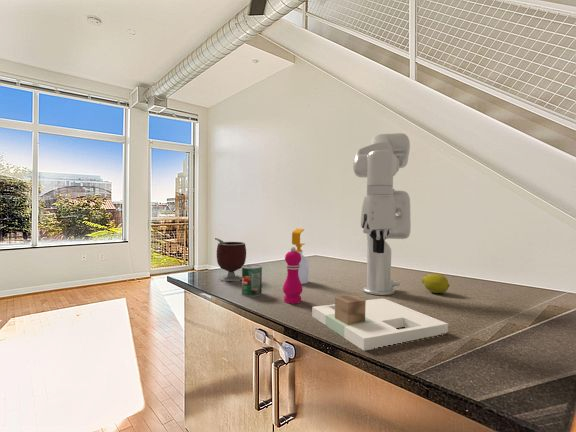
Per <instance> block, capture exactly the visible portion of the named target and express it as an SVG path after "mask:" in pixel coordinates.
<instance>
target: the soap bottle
mask: <svg viewBox="0 0 576 432" xmlns="http://www.w3.org/2000/svg"><path fill="white" fill-rule="evenodd" d="M304 231H305V228H296V229H294V230H293V231H292V233H291V243H292V245H295V248H296V250H295V251H296V252H298V253H300V255H301V261H300V263H299V265H300V269H299V270H298V276H299V279H300V282H301V284H302V285H306V284H308V283H309V262H310V261H309V259H308V258H307V257H306V256H304V255H303V249H301V248H302V247H303V246H304V245H305V243H301V233H303V232H304Z"/></svg>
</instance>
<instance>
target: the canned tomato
mask: <svg viewBox="0 0 576 432" xmlns="http://www.w3.org/2000/svg"><path fill="white" fill-rule="evenodd" d="M241 276H242V281H241V295H242V296H243V297H249V296H250V297H259V296H261V295H263V292H262V290H263V285H262V283H263V282H262V281H263V279H262V278H263V277H262V276H263V266H262V265H259V264H244V265H243V266H242V268H241Z"/></svg>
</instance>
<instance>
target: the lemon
mask: <svg viewBox="0 0 576 432" xmlns="http://www.w3.org/2000/svg"><path fill="white" fill-rule="evenodd" d="M421 283H422V284H424V287H425V289H427V291H429V292H431V293H434V294H437V293H438V295H439V293H440V294H444V293H446V292H447V291H448V289H449V288H450V286H451V285H450V282H449V280H448V279H447V277H446V276H444V275H443V274H440V273H430V274H427V275H425V276H423V277H422V278H421Z"/></svg>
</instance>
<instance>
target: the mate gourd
mask: <svg viewBox="0 0 576 432" xmlns="http://www.w3.org/2000/svg"><path fill="white" fill-rule="evenodd" d="M214 240H215V241H218V242H217V248H216V262H217V264H218V266H219V267H220V269H222V270H224V271H227V274H225V275H220V276H218V277H217V280H218V279H219V280H221V281H220V282H223V281H236V282H241V281H240V280H242V275H238V274H236V273H235V272H237V271H238V270H240V269H242V266H244V265H246V259H247V248H246V242H244V241H243V242H242V241H223V240H221V239H219V238H216V237H215V238H214ZM219 280H218V281H219Z"/></svg>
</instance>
